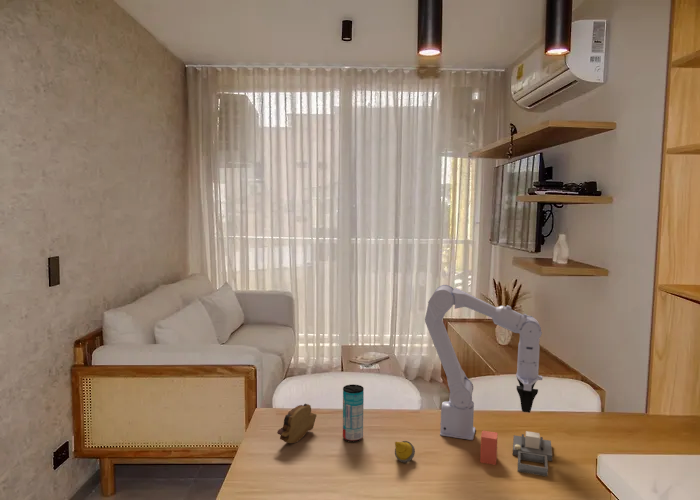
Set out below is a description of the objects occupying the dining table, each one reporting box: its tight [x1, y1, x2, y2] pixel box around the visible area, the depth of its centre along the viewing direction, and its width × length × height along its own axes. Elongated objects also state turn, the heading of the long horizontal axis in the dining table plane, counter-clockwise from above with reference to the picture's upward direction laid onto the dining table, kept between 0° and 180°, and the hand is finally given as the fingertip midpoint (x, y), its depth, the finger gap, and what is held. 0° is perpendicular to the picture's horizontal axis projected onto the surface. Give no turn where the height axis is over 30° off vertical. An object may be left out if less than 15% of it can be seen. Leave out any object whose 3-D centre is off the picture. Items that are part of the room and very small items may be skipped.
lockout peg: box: [479, 430, 499, 466], centre depth 137 cm, size 4×4×7 cm
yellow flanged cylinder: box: [394, 440, 416, 463], centre depth 136 cm, size 5×5×10 cm
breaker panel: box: [512, 433, 553, 462], centre depth 143 cm, size 10×9×2 cm
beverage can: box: [342, 384, 365, 443], centre depth 148 cm, size 6×6×15 cm
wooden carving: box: [277, 403, 317, 444], centre depth 148 cm, size 16×5×10 cm, turn 155°
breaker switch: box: [525, 430, 541, 449], centre depth 142 cm, size 4×3×3 cm
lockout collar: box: [517, 451, 549, 477], centre depth 134 cm, size 7×7×2 cm
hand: (525, 406), depth 147 cm, fingers open, 7 cm apart
